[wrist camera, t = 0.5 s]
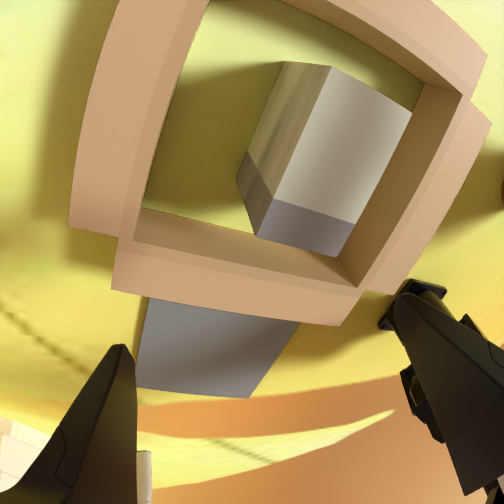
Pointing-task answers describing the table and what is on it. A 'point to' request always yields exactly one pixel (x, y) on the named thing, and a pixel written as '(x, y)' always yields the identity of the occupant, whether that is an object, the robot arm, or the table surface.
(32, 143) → the table surface
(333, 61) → the table surface
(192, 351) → the slate mat
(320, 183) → the box
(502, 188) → the disposable coffee cup
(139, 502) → the tall pale column
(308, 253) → the light brown square frame
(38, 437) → the container
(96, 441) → the robot arm
